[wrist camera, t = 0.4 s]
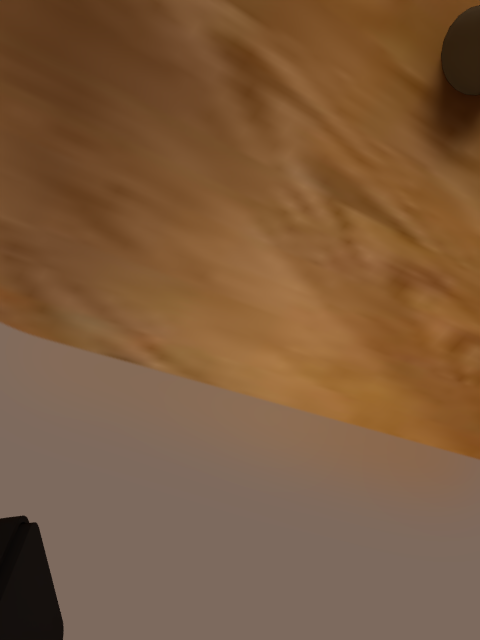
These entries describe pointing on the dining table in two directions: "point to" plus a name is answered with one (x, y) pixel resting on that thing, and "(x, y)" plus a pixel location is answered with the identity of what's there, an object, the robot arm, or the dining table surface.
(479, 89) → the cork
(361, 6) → the dining table surface
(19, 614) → the robot arm
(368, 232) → the dining table surface
